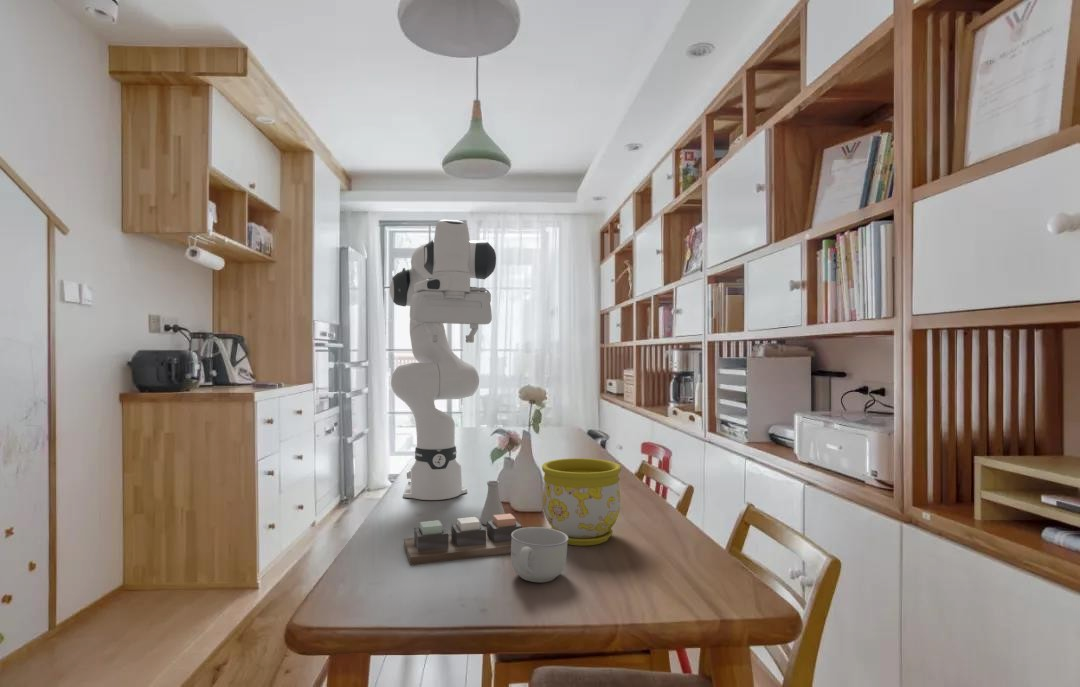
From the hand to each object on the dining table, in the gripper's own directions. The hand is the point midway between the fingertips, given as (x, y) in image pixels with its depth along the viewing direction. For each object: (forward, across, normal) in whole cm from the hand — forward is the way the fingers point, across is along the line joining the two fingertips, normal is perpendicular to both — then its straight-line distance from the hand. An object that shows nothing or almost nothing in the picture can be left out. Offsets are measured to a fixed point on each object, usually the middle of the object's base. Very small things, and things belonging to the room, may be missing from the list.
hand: (451, 342), depth 142 cm
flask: (+45, -10, +1) cm, 46 cm away
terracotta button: (+41, -5, +18) cm, 45 cm away
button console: (+45, +2, +16) cm, 48 cm away
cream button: (+41, +3, +16) cm, 44 cm away
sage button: (+41, +10, +15) cm, 44 cm away
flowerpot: (+45, -23, +22) cm, 55 cm away
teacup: (+45, -1, +38) cm, 59 cm away
